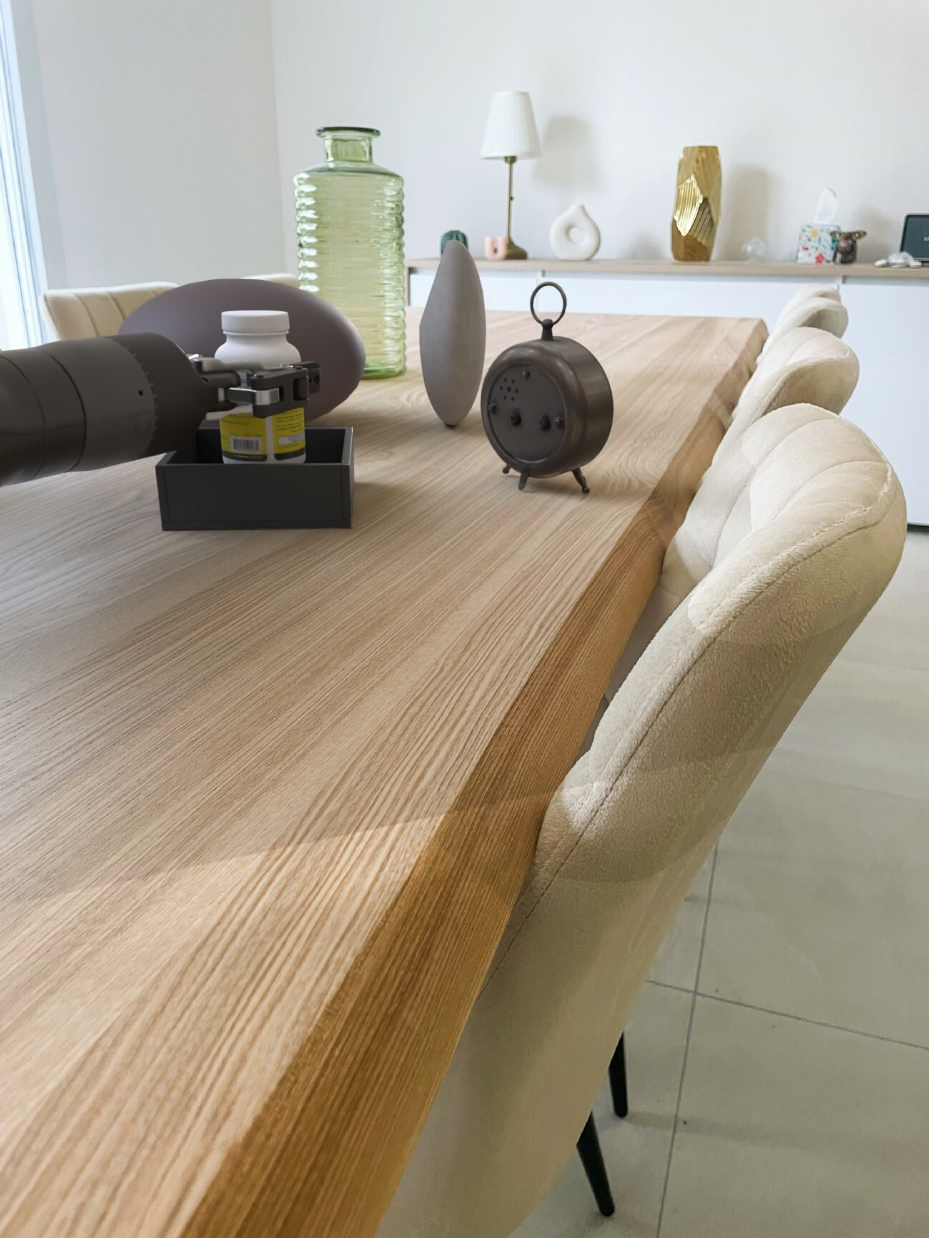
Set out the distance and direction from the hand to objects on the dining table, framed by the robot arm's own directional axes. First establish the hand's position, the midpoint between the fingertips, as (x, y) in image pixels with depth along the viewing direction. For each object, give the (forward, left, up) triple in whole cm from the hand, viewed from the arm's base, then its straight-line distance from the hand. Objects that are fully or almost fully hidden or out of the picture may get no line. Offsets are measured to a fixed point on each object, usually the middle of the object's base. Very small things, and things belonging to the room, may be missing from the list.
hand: (279, 372), depth 70 cm
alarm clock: (+19, +8, -10) cm, 23 cm away
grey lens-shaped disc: (+7, +33, -10) cm, 35 cm away
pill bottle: (-1, -2, -7) cm, 7 cm away
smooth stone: (-13, +24, -10) cm, 29 cm away
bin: (-1, -2, -10) cm, 10 cm away
